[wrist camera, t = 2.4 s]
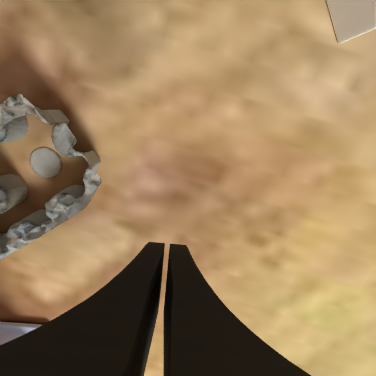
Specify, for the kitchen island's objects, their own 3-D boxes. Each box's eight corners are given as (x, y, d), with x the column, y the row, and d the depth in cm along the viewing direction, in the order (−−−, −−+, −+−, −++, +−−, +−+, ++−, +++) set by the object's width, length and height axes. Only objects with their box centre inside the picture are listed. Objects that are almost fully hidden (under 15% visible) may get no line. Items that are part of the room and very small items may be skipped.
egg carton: (55, 89, 17) (17, 83, 13) (120, 181, 19) (104, 199, 15) (-60, 170, 19) (-125, 186, 15) (11, 248, 21) (-29, 280, 17)
